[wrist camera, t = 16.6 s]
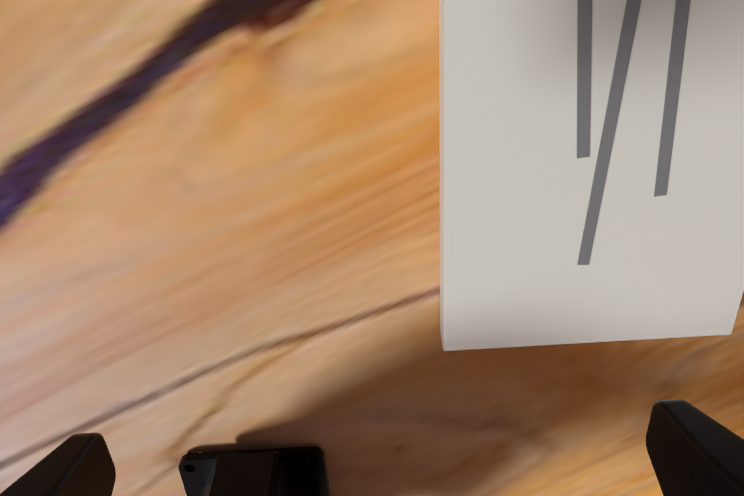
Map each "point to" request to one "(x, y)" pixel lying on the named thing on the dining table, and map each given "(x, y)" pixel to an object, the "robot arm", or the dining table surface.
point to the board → (590, 170)
